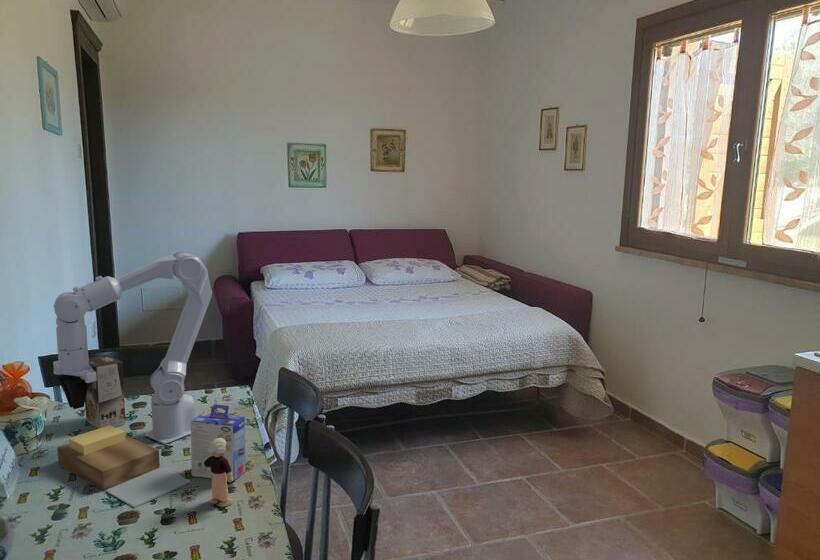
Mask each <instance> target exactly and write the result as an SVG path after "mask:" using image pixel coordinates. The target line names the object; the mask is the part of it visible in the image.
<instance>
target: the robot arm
mask: <svg viewBox="0 0 820 560" xmlns="http://www.w3.org/2000/svg"><path fill="white" fill-rule="evenodd" d="M208 273H209V271H208V269H207V267H206V266H205V264H204V263H203V261H202V260H201V259H200V258H199V257H198V256H195V255H194V254H192V253H191V252H189V251H184V250H181V251H177V252H175V253H174V254H168V255H164V256H163V257H160V258H158V259H155V260H152V261H151V262H148V263H147V264H144V265H143V266H141V267H138V268H136V269H133V270H131V271H129V272H127V273H126V274H124V275H120V276H119V277H112V276H109V275H107V276H104V277H103V276H102V275H98V276H96V277H95V281H92V282H90V283H87V284H85V285H82V286H81V287H78V286H75V287H72V291H64V292H62V293H61V294H59V295H58V296H57V297H56V299H54V304H53V308H54V314H55V315H56V320H55V323H56V328H55V331H56V344H57V345H56V346H57V357H58V358H57V359H58V360H55V361H53V362H52V363H53V364H52V365H53V374H54V375H57V377H56V379H55V380H56V382H57V383H58V384H59V385H60V387H61V388H62V390H63V393H64V396H65V399H66V401H67V404H68V406H69V407H70V408H73V410H77V409H81V408H84V407H85V399H86V395H87V391H88V388H89V386H90V384H91V382H94V381H97V378H96V372H94V371H93V370H92V368H91V366H90V365H89V359H90V358H89V347H88V346H89V345H88V331H87V325H86V323H85V316H86V313H88V312H90V313H91V312H94V311H96V310H98V309H101V308H103V307H105V306H107V305H109V304H112V303H114V302H117V301H120V299H121V298H122V295H123V293H124V292H126V291H128V290H130V289H133V288H136V287H137V286H140V285H144V284H146V283H149V282H152V281H153V280H156V279H158V278H159V279H166V280H174V279H175V277H176V278H177V279H178V280H179V281H180V282H181V284H182V285H183V287H184V289H185V292H187V294H188V295H187V298H186V301H185V304H184V306H183V309H182V311H181V314H180V317H179V320H178V322H177V325H176V328H175V331H174V332H173V336H172V339H171V341H170V344H169V346H168V349H167V352H166V353H165V357H163V359H162V360H161V361H160V364H159V366H158V368H157V369H156V370H155V371H154V372H153V373H152V374H151V376H150V379H149V383H150V386H151V388H152V389H153V390H154V393H153V395H152V397H151V398H150V402H151V420H152V421H151V422H152V423H151V424H152V425H151V426H152V431H149V432H146V433H145V434H144V436H145V437H147V438H149V439H151V440H154V441H156V442H158V443H160V444H163V445H165V444H168V443H172V442H175V441H177V440H179V439H182V438H184V437H187V436H189V435H190V436H191V421H192V420H193V419H195V418H196V417H197V410H196V409H197V407H196V402H195V400H194V398H193V397H192V395H190V394H188V393H185V384H184V383H185V379H186V375H187V363H188V362H189V358H190V356H191V353H192V350H193V347H194V344H195V342H196V339H197V337H198V334H199V332H200V329H201V326H202V324H203V320H204V317H205V315H206V312H207V309H208V307H209V304H210V302H211V299H212V296H213V295H212V294H213V291H212V287H211V283H210V279H209V274H208ZM174 276H175V277H174Z"/></svg>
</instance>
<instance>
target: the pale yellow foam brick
mask: <svg viewBox="0 0 820 560" xmlns="http://www.w3.org/2000/svg"><path fill="white" fill-rule="evenodd" d="M125 435H126V431H125V430H122V429H121V428H118V427H117V426H116V427H114V426H112V425H108V426H105V427H102V428H99V429H98V428H96V429H94V430H91V431H88V432H87V431H86V432H84V433H81V434H78V435H75V436H70V437H68V443H69V447H70V448H72V449H74V450H76V451H77V452H79V453H81V454H83V455H85V454H88V453H91V452H94V451H97V450H100V449H102V448H105V447H108V446H111V445H114V444H117V443H119V442H122V441H125V440H126V437H125Z"/></svg>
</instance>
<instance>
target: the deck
mask: <svg viewBox="0 0 820 560" xmlns="http://www.w3.org/2000/svg"><path fill="white" fill-rule="evenodd" d="M125 437H126V440H125V441H122V442H119V443H117V444H114V445H111V446H108V447H105V448H102V449H100V450H97V451H94V452H91V453H88V454H85V455H83V454H81V453H79V452H77V451H76V450H74V449H72V448H70V447H69V442H68V443H65V444H63V445H61V446H57V448H56V449H57V458H58V460H57V462H58V466H60V467H62V468H63V469H64V470H67V471H69V472H71V473H72V474H74V475H75V476H77V477H79V478H81V479H82V480H84V481H86V482H88V483H90V484H91V485H93V486H95V487H97V488H98V489H100V490H102V491H105V490H107V489H110V488H112V487H114V486H117V485H119V484H122V483H124V482H126V481H129V480H131V479H134V478H136V477H139V476H141V475H143V474H146V473H148V472H151V471H153V470H155V469H158V468H160V467H161V465H160V450H159V449H158V448H155V447H152V446H151V445H149V444H146V443H144V442H143V441H140V440H138V439H135V438H133V437H131V436H128V435H126V434H125ZM105 492H106V491H105Z"/></svg>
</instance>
